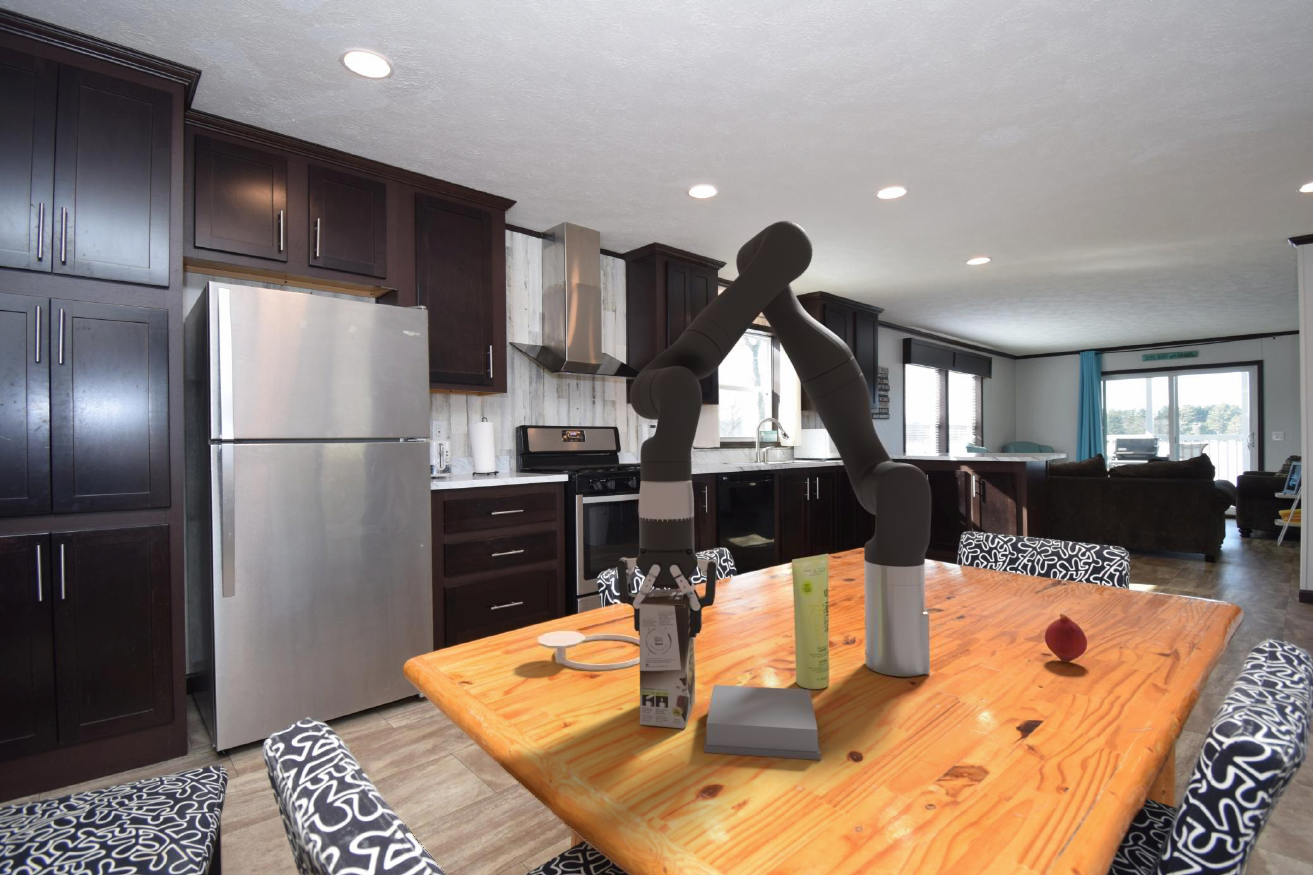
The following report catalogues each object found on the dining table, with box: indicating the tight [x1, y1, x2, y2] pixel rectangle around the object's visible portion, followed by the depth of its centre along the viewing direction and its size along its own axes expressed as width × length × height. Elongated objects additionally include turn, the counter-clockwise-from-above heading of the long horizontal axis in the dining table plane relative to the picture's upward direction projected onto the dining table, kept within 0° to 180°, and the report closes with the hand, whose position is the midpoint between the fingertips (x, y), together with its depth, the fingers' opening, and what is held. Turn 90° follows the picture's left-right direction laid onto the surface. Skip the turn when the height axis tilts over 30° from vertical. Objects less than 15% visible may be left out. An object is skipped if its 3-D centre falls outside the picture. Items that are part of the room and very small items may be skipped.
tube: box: [791, 553, 830, 690], centre depth 97 cm, size 6×5×20 cm
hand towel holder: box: [537, 630, 640, 672], centre depth 112 cm, size 17×4×21 cm
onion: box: [1044, 612, 1088, 663], centre depth 106 cm, size 6×6×8 cm
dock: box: [703, 684, 822, 761], centre depth 82 cm, size 14×13×3 cm
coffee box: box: [639, 588, 696, 729], centre depth 88 cm, size 9×6×16 cm
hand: (667, 634), depth 88 cm, fingers closed on coffee box, 6 cm apart
